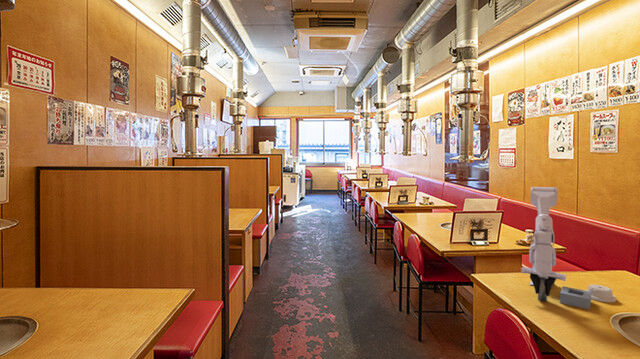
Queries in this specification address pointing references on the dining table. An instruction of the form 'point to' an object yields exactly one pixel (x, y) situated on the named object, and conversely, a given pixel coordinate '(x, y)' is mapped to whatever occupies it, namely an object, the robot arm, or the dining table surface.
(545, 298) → the steel pin
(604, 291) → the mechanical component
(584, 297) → the block
